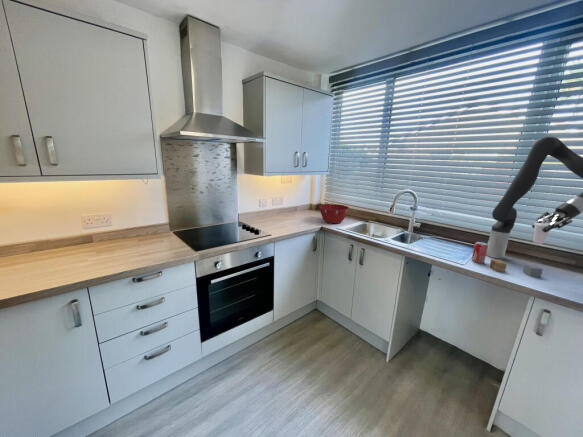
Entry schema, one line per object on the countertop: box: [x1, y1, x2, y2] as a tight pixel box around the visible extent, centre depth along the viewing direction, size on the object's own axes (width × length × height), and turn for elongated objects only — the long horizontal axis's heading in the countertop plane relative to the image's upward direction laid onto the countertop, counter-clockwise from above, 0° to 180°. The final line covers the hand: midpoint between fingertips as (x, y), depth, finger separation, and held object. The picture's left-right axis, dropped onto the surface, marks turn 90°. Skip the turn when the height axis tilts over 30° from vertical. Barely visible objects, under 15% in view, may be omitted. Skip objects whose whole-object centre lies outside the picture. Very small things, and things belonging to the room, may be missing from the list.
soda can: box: [471, 241, 488, 264], centre depth 147 cm, size 6×6×12 cm
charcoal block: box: [522, 263, 544, 278], centre depth 131 cm, size 5×5×5 cm
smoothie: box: [532, 216, 551, 245], centre depth 123 cm, size 6×6×14 cm
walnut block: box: [489, 258, 508, 273], centre depth 137 cm, size 5×5×5 cm
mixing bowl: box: [318, 203, 350, 224], centre depth 233 cm, size 28×28×15 cm
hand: (538, 229), depth 123 cm, fingers closed on smoothie, 6 cm apart
